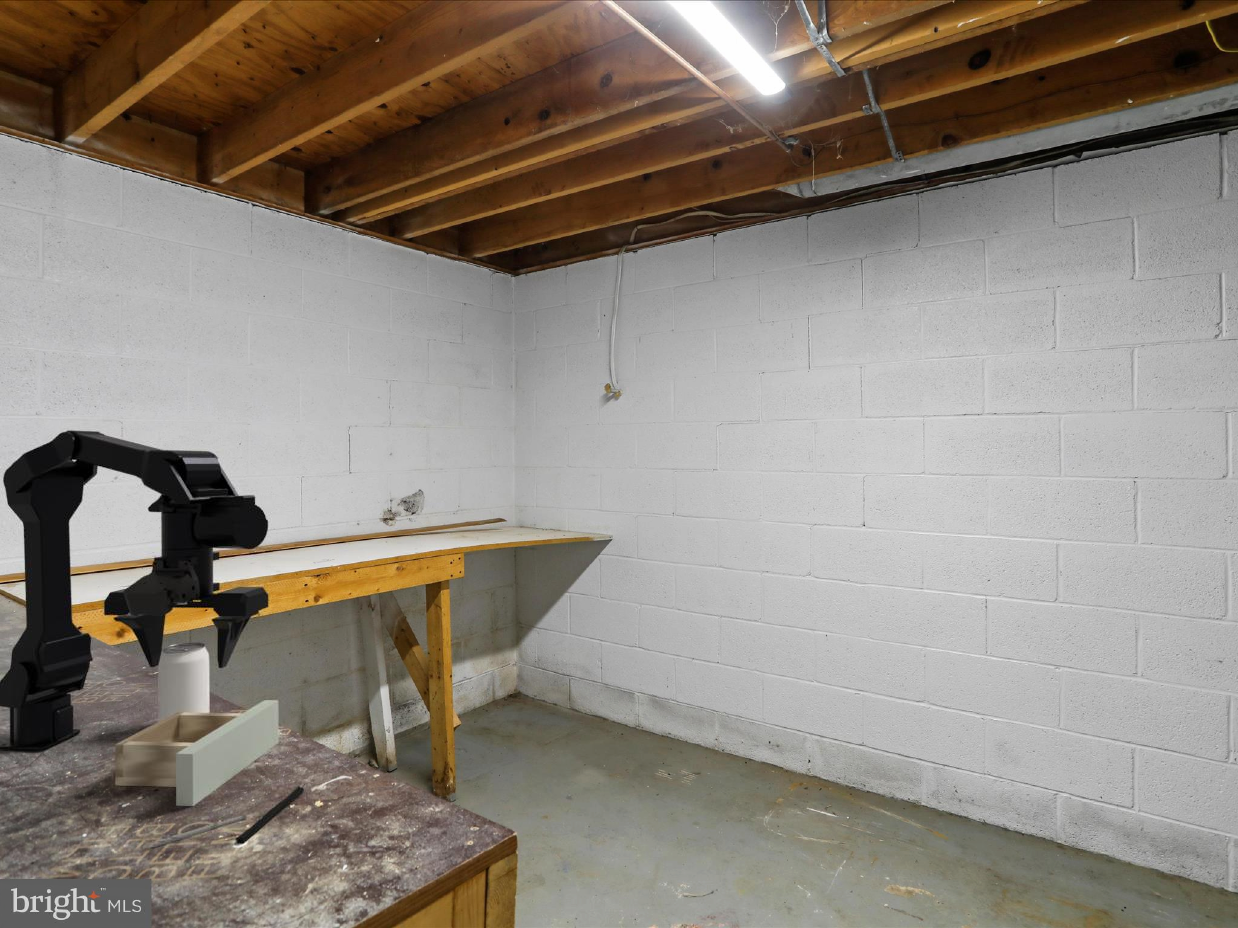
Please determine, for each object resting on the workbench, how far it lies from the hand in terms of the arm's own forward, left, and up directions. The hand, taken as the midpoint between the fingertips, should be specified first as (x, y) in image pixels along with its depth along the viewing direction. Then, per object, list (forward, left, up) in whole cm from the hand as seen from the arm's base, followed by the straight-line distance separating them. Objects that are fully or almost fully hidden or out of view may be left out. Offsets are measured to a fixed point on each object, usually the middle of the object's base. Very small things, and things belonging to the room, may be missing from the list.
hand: (188, 666), depth 91 cm
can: (-10, +13, -13) cm, 21 cm away
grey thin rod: (+12, -15, -14) cm, 24 cm away
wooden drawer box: (0, 0, -13) cm, 13 cm away
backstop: (+7, -1, -13) cm, 15 cm away
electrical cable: (+18, -11, -14) cm, 25 cm away
